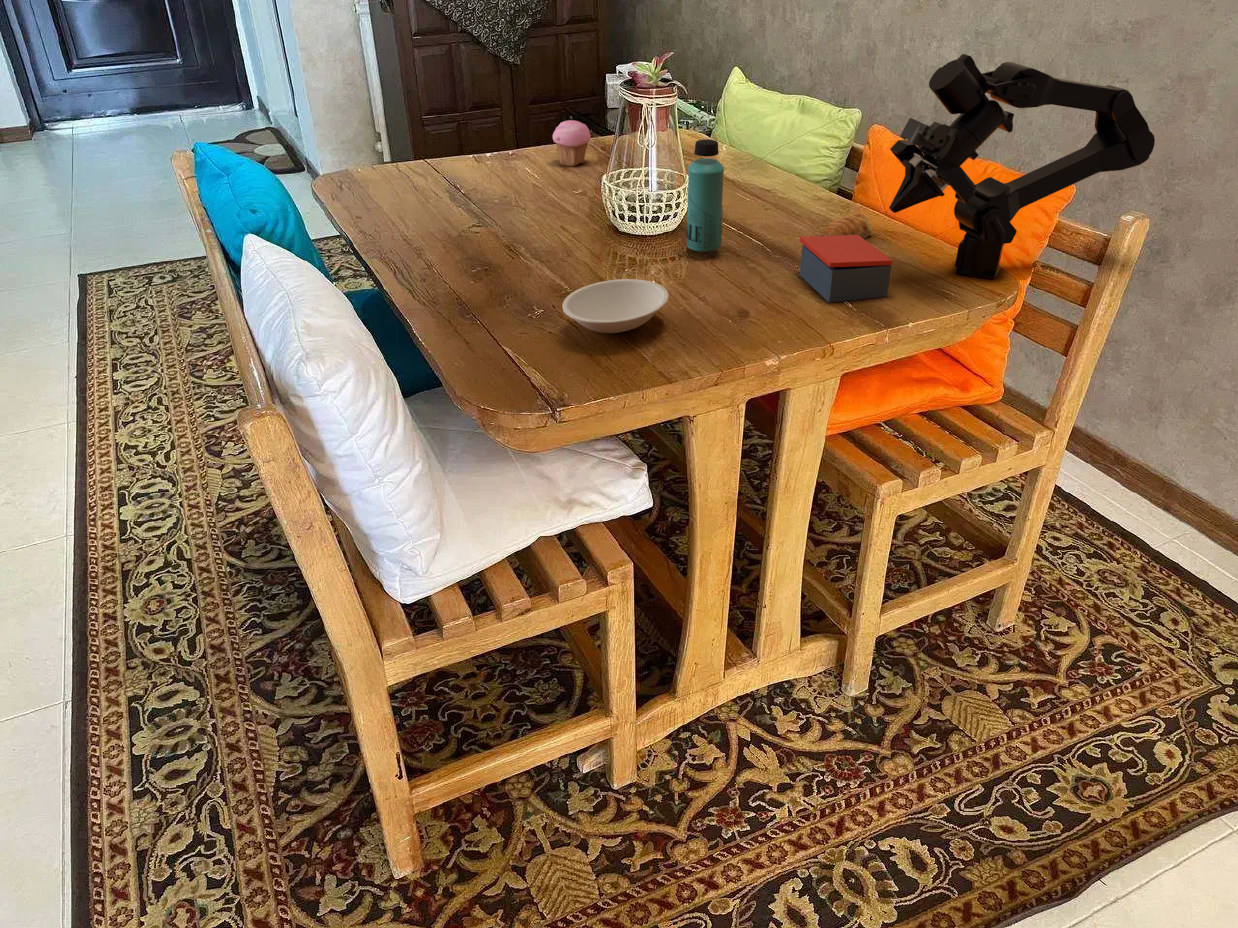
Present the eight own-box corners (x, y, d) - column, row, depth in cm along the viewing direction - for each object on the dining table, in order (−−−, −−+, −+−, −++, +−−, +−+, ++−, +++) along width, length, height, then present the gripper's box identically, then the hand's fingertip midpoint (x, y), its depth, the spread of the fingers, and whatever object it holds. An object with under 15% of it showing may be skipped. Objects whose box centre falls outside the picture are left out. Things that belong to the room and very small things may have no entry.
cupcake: (570, 157, 224) (568, 114, 219) (598, 162, 220) (597, 119, 215) (547, 166, 218) (544, 122, 213) (576, 171, 214) (574, 126, 209)
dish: (619, 300, 149) (619, 271, 147) (689, 324, 141) (690, 293, 139) (542, 336, 138) (540, 305, 136) (612, 363, 130) (612, 331, 128)
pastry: (841, 247, 169) (843, 227, 167) (813, 238, 173) (815, 218, 171) (874, 236, 173) (876, 216, 171) (845, 227, 178) (848, 208, 176)
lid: (829, 267, 144) (830, 262, 144) (799, 241, 154) (799, 236, 154) (891, 265, 146) (892, 260, 146) (857, 239, 156) (858, 234, 156)
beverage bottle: (726, 250, 168) (731, 137, 157) (713, 262, 163) (718, 147, 152) (693, 245, 171) (696, 134, 160) (679, 257, 166) (682, 143, 155)
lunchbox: (828, 303, 147) (832, 271, 144) (799, 274, 158) (802, 245, 155) (887, 296, 149) (891, 265, 146) (853, 269, 159) (857, 239, 157)
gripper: (909, 87, 147) (838, 163, 152) (971, 112, 132) (890, 195, 136) (946, 133, 153) (876, 205, 157) (1009, 162, 138) (930, 241, 142)
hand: (891, 210), depth 148 cm, fingers closed
